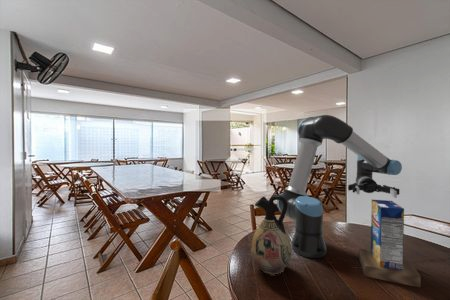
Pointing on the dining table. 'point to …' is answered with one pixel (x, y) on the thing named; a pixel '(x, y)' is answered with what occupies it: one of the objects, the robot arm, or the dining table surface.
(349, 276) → the dining table surface
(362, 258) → the walnut pedestal block
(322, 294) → the dining table surface
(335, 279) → the dining table surface
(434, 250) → the dining table surface
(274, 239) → the ceramic jug
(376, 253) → the beverage box
